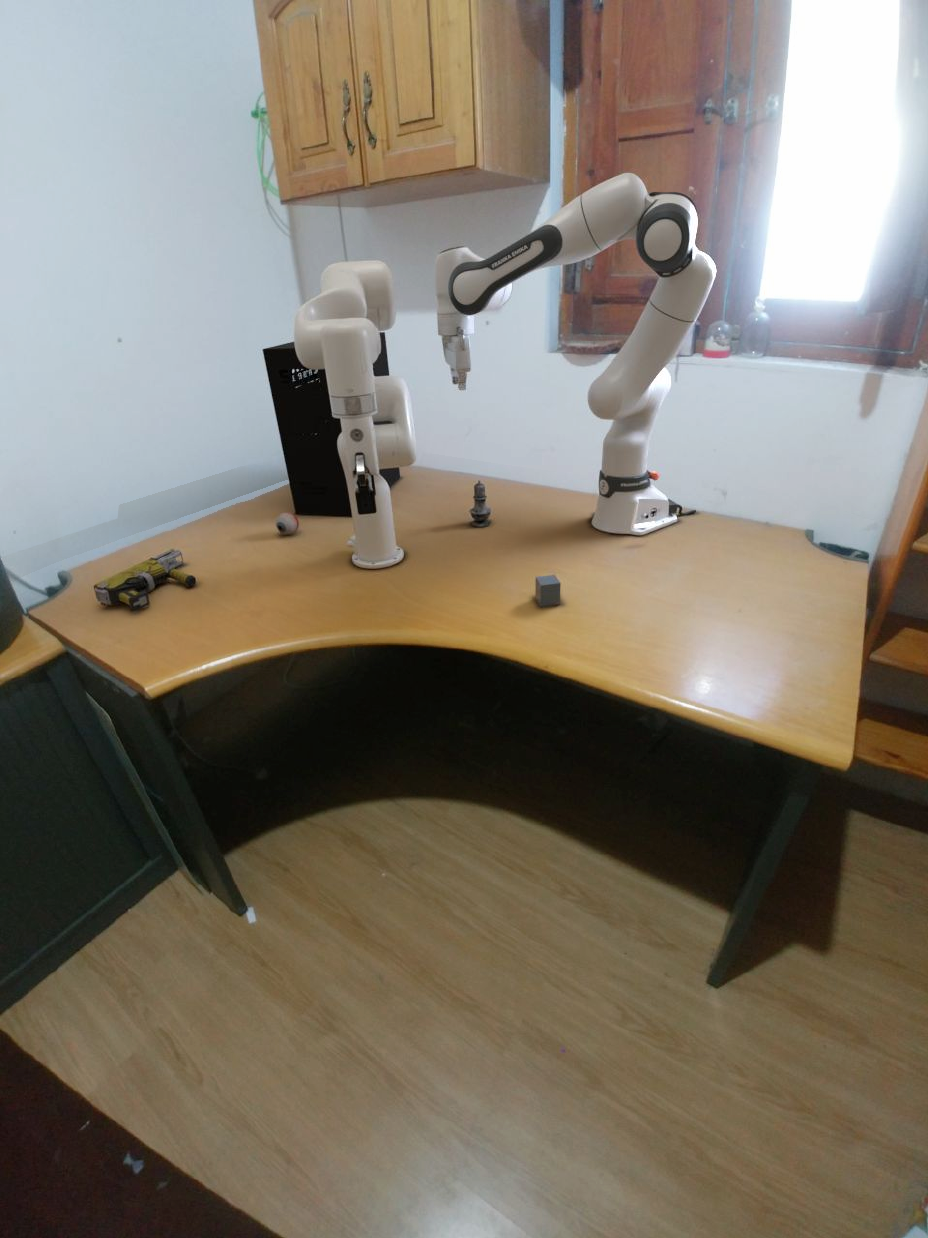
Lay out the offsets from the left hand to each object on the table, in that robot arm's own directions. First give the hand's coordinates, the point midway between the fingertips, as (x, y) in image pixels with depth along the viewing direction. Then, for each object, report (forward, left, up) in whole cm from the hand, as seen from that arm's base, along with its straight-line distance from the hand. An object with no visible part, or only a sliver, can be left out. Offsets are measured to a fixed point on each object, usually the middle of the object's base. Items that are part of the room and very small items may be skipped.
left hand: (367, 504), depth 108 cm
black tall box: (-63, +58, -25) cm, 89 cm away
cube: (+24, +24, -25) cm, 42 cm away
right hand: (-18, +57, +10) cm, 61 cm away
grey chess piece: (-12, +55, -25) cm, 61 cm away
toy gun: (-57, -13, -25) cm, 63 cm away
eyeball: (-55, +24, -25) cm, 65 cm away
